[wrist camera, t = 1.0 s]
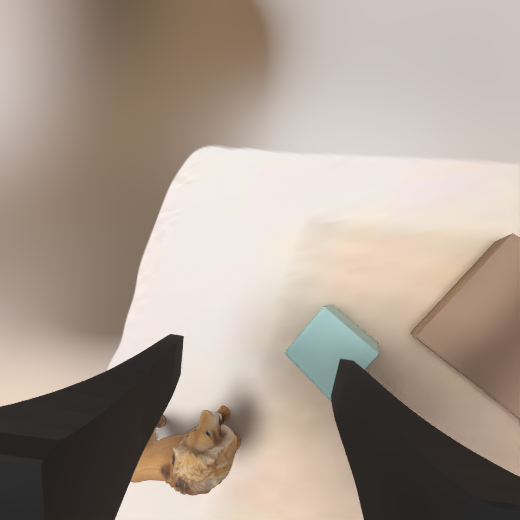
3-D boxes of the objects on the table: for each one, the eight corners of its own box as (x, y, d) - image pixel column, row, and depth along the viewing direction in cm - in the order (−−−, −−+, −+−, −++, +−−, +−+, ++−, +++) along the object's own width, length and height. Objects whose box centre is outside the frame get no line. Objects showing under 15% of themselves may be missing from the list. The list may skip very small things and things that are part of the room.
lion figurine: (254, 380, 25) (196, 419, 17) (275, 440, 23) (222, 517, 15) (144, 419, 29) (56, 465, 21) (156, 472, 28) (65, 545, 19)
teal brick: (377, 342, 21) (378, 353, 17) (341, 381, 22) (333, 403, 17) (333, 304, 23) (323, 306, 18) (301, 342, 24) (284, 352, 19)
